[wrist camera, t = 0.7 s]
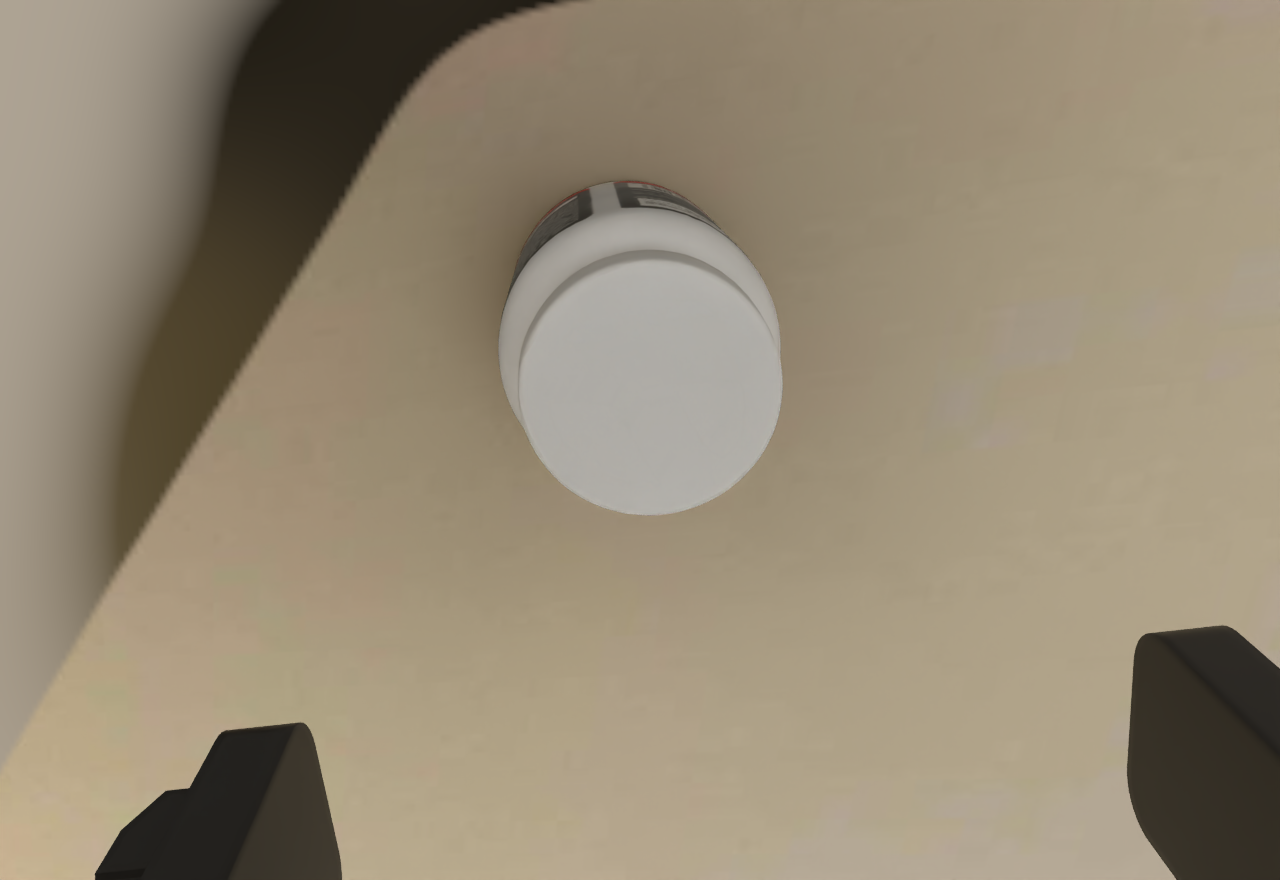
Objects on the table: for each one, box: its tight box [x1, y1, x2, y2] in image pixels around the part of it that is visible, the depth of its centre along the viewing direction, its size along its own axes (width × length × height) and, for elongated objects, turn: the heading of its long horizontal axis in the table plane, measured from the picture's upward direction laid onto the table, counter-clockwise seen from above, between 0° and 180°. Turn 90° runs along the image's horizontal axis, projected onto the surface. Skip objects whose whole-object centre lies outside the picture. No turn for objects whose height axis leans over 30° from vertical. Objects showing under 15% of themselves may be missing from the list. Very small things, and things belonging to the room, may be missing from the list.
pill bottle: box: [498, 181, 783, 516], centre depth 24 cm, size 6×6×10 cm
